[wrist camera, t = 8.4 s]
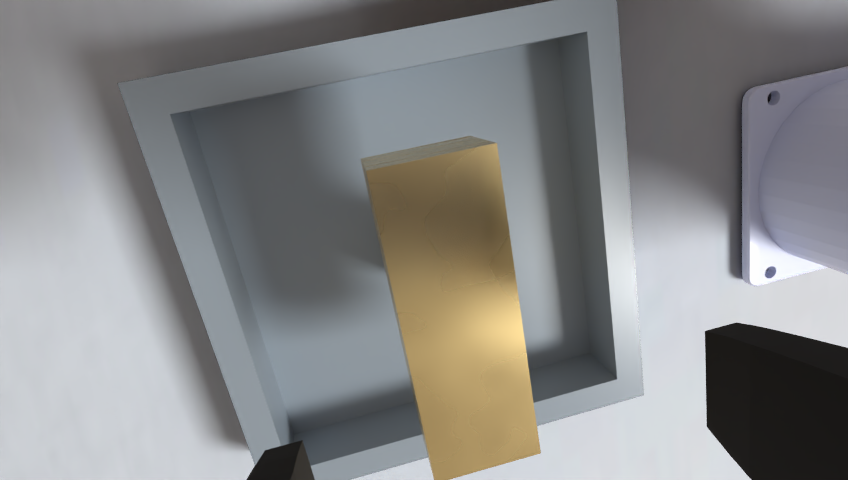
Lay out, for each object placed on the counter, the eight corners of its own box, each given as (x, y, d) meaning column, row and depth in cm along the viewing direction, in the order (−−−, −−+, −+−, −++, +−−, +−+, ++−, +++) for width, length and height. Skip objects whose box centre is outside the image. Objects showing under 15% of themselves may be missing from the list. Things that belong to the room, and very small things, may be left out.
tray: (576, 3, 17) (616, -12, 15) (609, 361, 21) (644, 395, 19) (150, 85, 16) (117, 83, 13) (276, 454, 20) (268, 502, 17)
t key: (472, 337, 19) (540, 453, 13) (401, 355, 19) (435, 483, 13) (436, 126, 17) (496, 143, 11) (353, 143, 17) (366, 171, 10)
